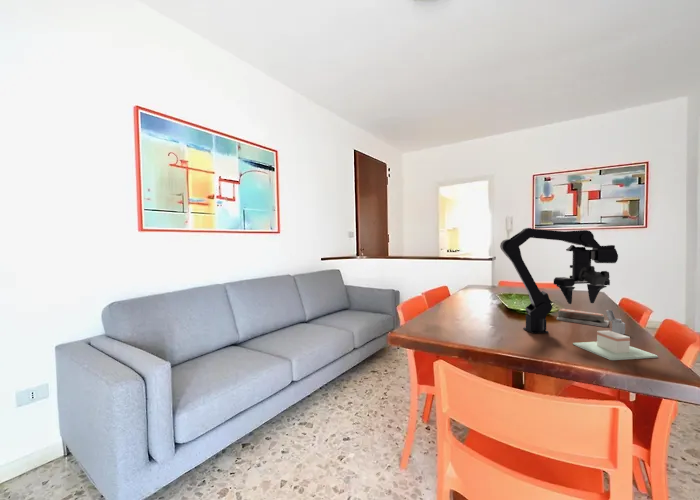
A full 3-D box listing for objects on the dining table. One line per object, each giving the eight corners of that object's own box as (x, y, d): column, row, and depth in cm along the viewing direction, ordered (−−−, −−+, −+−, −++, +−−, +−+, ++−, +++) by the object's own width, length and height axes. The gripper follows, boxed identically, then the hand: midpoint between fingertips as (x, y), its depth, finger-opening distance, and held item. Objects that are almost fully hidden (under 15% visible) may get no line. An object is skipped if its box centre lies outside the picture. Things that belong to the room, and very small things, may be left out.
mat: (611, 360, 94) (611, 358, 94) (573, 344, 108) (573, 342, 108) (657, 357, 95) (657, 355, 95) (614, 342, 109) (614, 340, 109)
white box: (596, 345, 105) (596, 330, 105) (608, 344, 105) (609, 330, 105) (616, 353, 98) (617, 337, 97) (629, 352, 98) (630, 336, 98)
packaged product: (556, 310, 139) (560, 306, 146) (556, 320, 139) (560, 316, 146) (608, 316, 127) (609, 312, 134) (607, 328, 127) (609, 323, 134)
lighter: (625, 334, 118) (625, 313, 118) (620, 334, 118) (621, 313, 118) (609, 328, 125) (609, 309, 125) (605, 328, 125) (605, 309, 125)
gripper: (576, 265, 109) (575, 309, 109) (624, 264, 110) (623, 307, 111) (552, 262, 120) (552, 302, 120) (596, 261, 121) (596, 301, 122)
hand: (580, 303), depth 118 cm, fingers open, 9 cm apart
